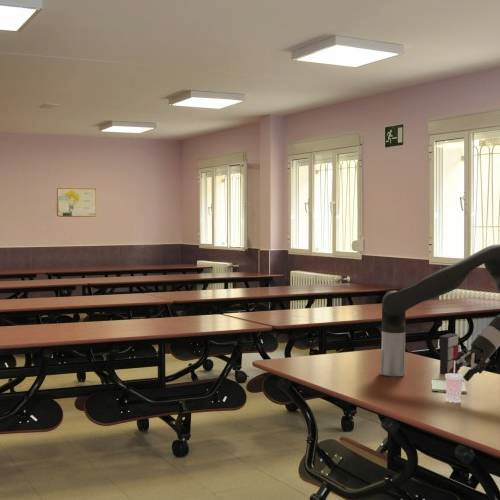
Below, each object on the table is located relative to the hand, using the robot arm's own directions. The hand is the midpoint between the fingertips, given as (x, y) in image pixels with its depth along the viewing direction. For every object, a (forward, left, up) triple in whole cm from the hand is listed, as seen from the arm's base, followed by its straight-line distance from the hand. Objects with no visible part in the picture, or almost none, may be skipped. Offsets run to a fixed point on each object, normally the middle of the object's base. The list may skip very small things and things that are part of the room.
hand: (457, 376), depth 249 cm
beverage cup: (-1, 0, -9) cm, 9 cm away
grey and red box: (-1, +49, -9) cm, 49 cm away
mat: (-2, +21, -8) cm, 22 cm away
